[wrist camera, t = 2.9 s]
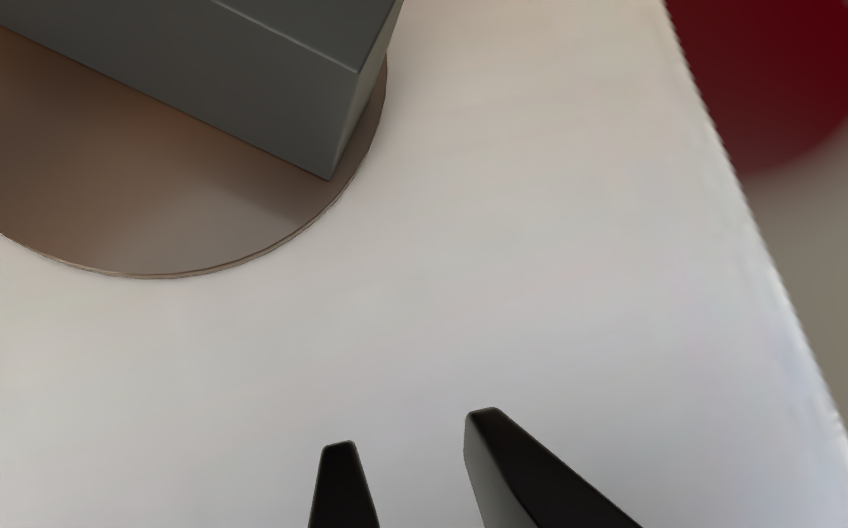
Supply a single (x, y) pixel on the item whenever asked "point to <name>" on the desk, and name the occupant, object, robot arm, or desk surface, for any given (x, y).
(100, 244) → the shallow brown dish
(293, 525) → the desk surface
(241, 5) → the clock
